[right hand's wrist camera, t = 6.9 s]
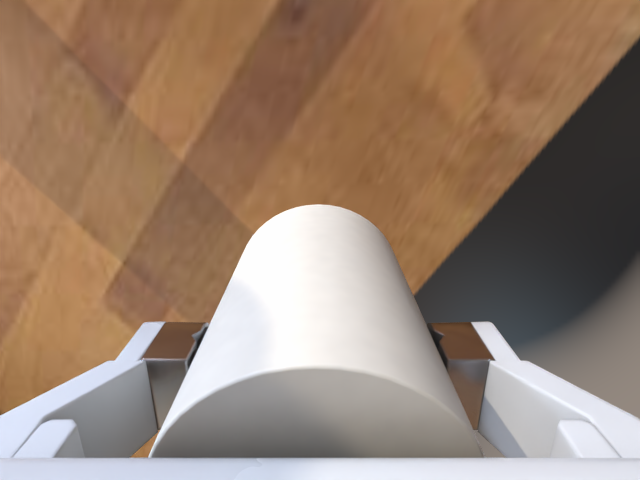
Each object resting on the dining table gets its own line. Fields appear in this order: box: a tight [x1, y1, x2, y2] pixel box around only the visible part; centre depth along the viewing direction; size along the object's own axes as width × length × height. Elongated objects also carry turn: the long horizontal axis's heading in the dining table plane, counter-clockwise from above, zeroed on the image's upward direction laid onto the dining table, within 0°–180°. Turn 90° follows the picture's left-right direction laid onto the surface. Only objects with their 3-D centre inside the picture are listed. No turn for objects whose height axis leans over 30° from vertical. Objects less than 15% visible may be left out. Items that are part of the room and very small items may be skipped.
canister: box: [148, 205, 486, 458], centre depth 10 cm, size 5×5×8 cm
